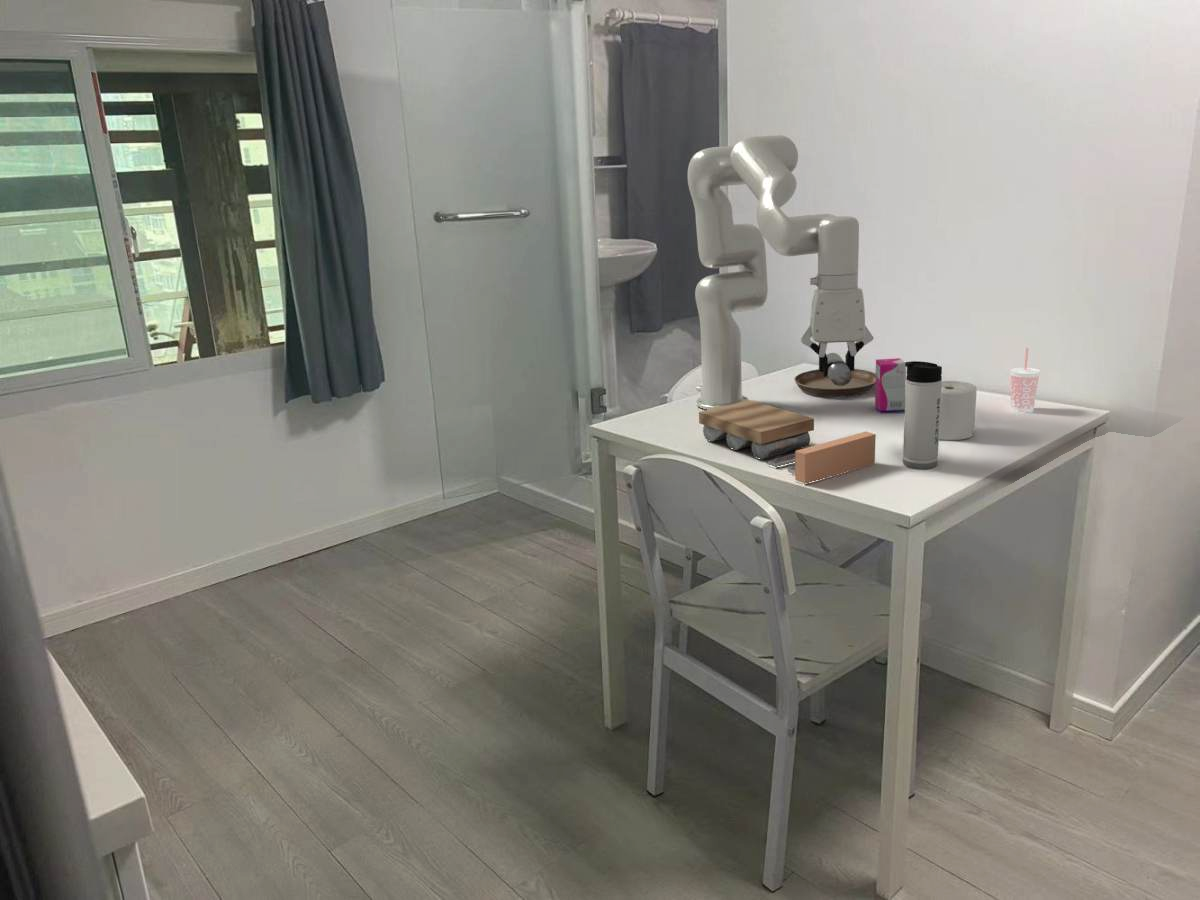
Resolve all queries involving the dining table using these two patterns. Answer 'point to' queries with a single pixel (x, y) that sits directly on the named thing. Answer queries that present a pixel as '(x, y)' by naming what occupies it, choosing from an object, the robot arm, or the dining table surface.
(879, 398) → the supplement box
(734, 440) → the middle roller
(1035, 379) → the beverage cup
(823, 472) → the bar
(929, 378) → the travel mug
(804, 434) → the cylinder
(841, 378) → the roller
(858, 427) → the dining table surface
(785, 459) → the cradle
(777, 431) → the slab
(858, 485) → the dining table surface
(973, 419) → the toilet tissue
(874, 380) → the plant saucer
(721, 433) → the rear roller
